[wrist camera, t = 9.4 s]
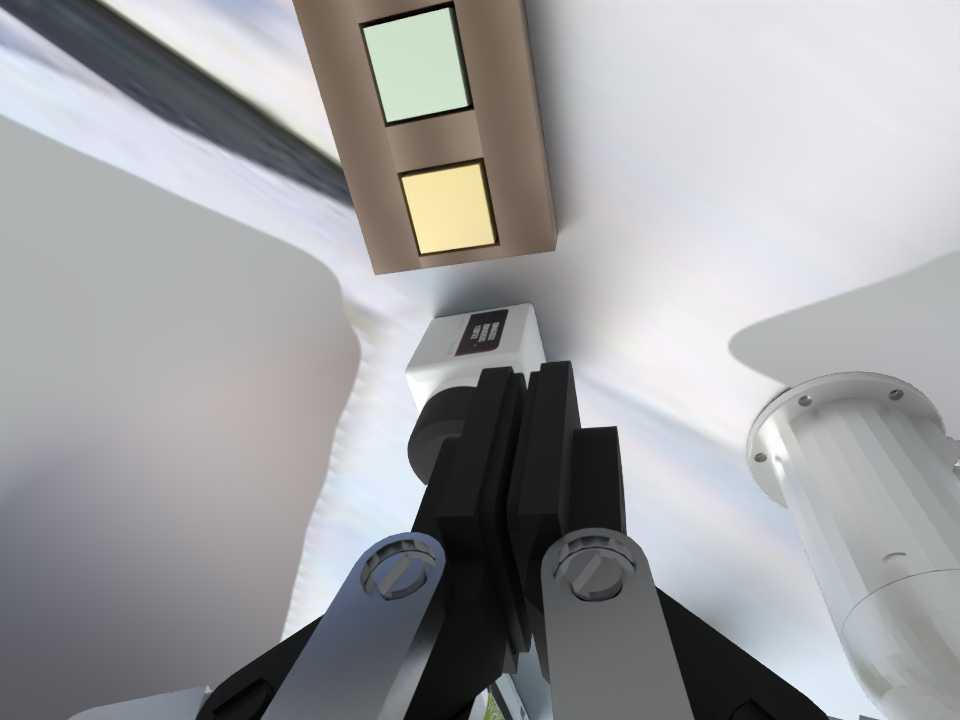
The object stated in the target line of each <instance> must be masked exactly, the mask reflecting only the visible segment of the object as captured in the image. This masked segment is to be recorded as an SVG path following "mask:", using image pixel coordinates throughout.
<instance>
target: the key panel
mask: <svg viewBox="0 0 960 720" xmlns="http://www.w3.org/2000/svg"><path fill="white" fill-rule="evenodd" d="M292 1H293V4H294V7H295V11H296V14H297V17H298V21H299V24H300V27H301V31H302V34H303V37H304V41H305V44H306V47H307V51H308V54H309V57H310V61H311V64H312V67H313V71H314V74H315V77H316V81H317V84H318V87H319V91H320V94H321V97H322V101H323V104H324V107H325V110H326V114H327V117H328V120H329V124H330V127H331V130H332V134H333V137H334V140H335V144H336V147H337V150H338V154H339V157H340V160H341V164H342V167H343V170H344V174H345V177H346V180H347V184H348V187H349V190H350V194H351V197H352V200H353V204H354V207H355V210H356V214H357V217H358V220H359V224H360V227H361V230H362V234H363V237H364V240H365V244H366V247H367V250H368V254H369V257H370V260H371V264H372V267H373V270H374V273H375V275H380V274H388V273H395V272H402V271H410V270H417V269H424V268H432V267H439V266H447V265H454V264H461V263H469V262H476V261H483V260H491V259H498V258H506V257H513V256H520V255H528V254H535V253H542V252H550V251H555V248H556V242H557V236H558V234H557V227H556V220H555V213H554V206H553V199H552V192H551V185H550V178H549V171H548V164H547V157H546V150H545V143H544V136H543V129H542V122H541V115H540V108H539V101H538V94H537V87H536V79H535V72H534V65H533V58H532V51H531V44H530V37H529V30H528V23H527V16H526V9H525V2H524V0H292ZM453 3H454V4H455V10H456V15H457V20H458V25H459V31H460V36H461V41H462V46H463V52H464V57H465V62H466V67H467V73H468V78H469V83H470V88H471V94H472V99H473V104H474V105H471V106H466V107H461V108H456V109H451V110H446V111H441V112H436V113H431V114H426V115H421V116H416V117H411V118H406V119H401V120H395V121H390V122H387V119H386V115H385V111H384V107H383V104H382V100H381V96H380V92H379V88H378V84H377V80H376V76H375V73H374V69H373V65H372V61H371V57H370V53H369V49H368V45H367V41H366V38H365V34H364V30H363V28H367V27H371V26H375V25H376V22H380V21H384V20H388V19H392V18H396V17H400V16H404V15H408V14H412V13H416V12H420V11H424V10H428V9H433V8H437V7H441V6H445V5H449V4H453ZM482 157H484V162H485V167H486V172H487V178H488V183H489V188H490V193H491V199H492V204H493V209H494V214H495V220H496V225H497V230H498V236H497V238H496V240H495V243H492V244H485V245H478V246H471V247H464V248H457V249H450V250H443V251H436V252H429V253H422V254H421V251H420V247H419V243H418V240H417V236H416V232H415V228H414V224H413V220H412V216H411V212H410V208H409V205H408V201H407V197H406V193H405V189H404V185H403V181H402V177H403V176H405V175H406V174H407V173H408V172H409V171H410V170H415V169H421V168H426V167H432V166H438V165H443V164H449V163H454V162H460V161H466V160H471V159H477V158H482Z"/></svg>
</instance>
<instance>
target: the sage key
mask: <svg viewBox="0 0 960 720" xmlns="http://www.w3.org/2000/svg"><path fill="white" fill-rule="evenodd" d="M363 30H364V34H365V38H366V41H367V45H368V49H369V53H370V57H371V61H372V65H373V69H374V73H375V76H376V80H377V84H378V88H379V92H380V96H381V100H382V104H383V107H384V111H385V115H386V119H387V122H390V121H395V120H400V119H405V118H410V117H415V116H420V115H425V114H430V113H435V112H440V111H445V110H450V109H455V108H460V107H465V106H468V105H469V104H471V103H472V102H473V99H472V94H471V88H470V83H469V78H468V73H467V67H466V62H465V57H464V52H463V46H462V41H461V36H460V31H459V25H458V20H457V15H456V10H455V8H445V9H441V10H437V11H433V12H429V13H424V14H420V15H416V16H412V17H408V18H404V19H400V20H396V21H392V22H388V23H384V24H379V25H375V26H371V27H367V28H363Z"/></svg>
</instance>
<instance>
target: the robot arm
mask: <svg viewBox="0 0 960 720" xmlns="http://www.w3.org/2000/svg"><path fill="white" fill-rule="evenodd" d="M945 435H946V430H945V427H944V424H943V420H942V417H941V416H940V414H939V413H938V411H937V409H936V408H935V407H934V405H933V404H932V403H931V402H930V401H929V400H928V398H927V397H926V396H925V395H924V394H923V393H922V392H920V391H919V390H918V389H916V388H915V387H913V386H912V385H911V384H909V383H906V382H904V381H902V380H900V379H897V378H895V377H891V376H887V375H883V374H879V373H870V372H845V373H836V374H831V375H826V376H822V377H818V378H815V379H812V380H810V381H807V382H805V383H802V384H799V385H798V386H796V387H794V388H792V389H790V390H789V391H787V392H785V393H783V394H782V395H781V396H779V397H778V398H777V399H776V400H774V401H773V402H772V403H770V404H769V406H768V407H767V408H766V409H765V410H764V411H763V412H762V413H761V414H760V415H759V417H758V419H757V420H756V422H755V424H754V425H753V427H752V429H751V432H750V435H749V438H748V441H747V453H746V454H747V460H748V465H749V468H750V471H751V474H752V476H753V479H754V481H755V482H756V484H757V485H758V487H759V489H760V490H761V491H762V492H763V493H764V494H765V495H766V496H767V497H768V498H769V499H771V500H772V501H774V502H775V503H777V504H778V505H780V506H782V507H784V508H786V509H788V510H789V511H790V513H791V516H792V519H793V521H794V524H795V526H796V529H797V531H798V534H799V537H800V539H801V542H802V544H803V547H804V549H805V552H806V555H807V557H808V560H809V562H810V565H811V567H812V570H813V573H814V575H815V578H816V580H817V583H818V585H819V588H820V591H821V593H822V596H823V598H824V601H825V603H826V606H827V609H828V611H829V614H830V616H831V619H832V621H833V624H834V627H835V629H836V632H837V634H838V637H839V639H840V642H841V645H842V647H843V650H844V652H845V655H846V657H847V660H848V662H849V665H850V667H851V670H852V672H853V674H854V676H855V678H856V680H857V682H858V684H859V685H860V687H861V688H862V690H863V691H864V693H865V694H866V696H867V697H868V698H869V700H870V701H871V702H872V703H873V704H874V705H875V707H876V708H877V709H878V710H879V711H880V712H881V713H882V714H883V715H884V716H885V717H886V718H887V719H889V720H960V466H956V467H955V466H954V464H956V463H957V461H958V460H960V441H954V440H953V439H952V438H951V437H946V436H945ZM532 633H533V637H534V641H535V646H536V650H537V654H538V658H539V662H540V666H541V670H542V674H543V677H544V678H545V680H546V681H547V682H548V683H549V684H550V685H551V695H552V706H553V718H554V720H842V719H838V718H834V717H830V716H827V715H826V714H825V713H824V712H823V711H822V710H821V709H820V708H819V707H818V706H817V705H815V704H814V703H813V702H812V701H811V700H810V699H809V698H808V697H807V696H805V695H804V694H803V693H801V692H800V691H798V690H797V689H796V688H794V687H793V686H792V685H790V684H789V683H787V682H786V681H785V680H783V679H782V678H781V677H779V676H778V675H777V674H775V673H774V672H772V671H771V670H770V669H768V668H767V667H766V666H764V665H763V664H761V663H760V662H759V661H757V660H756V659H755V658H753V657H752V656H750V655H749V654H748V653H746V652H745V651H744V650H742V649H741V648H740V647H738V646H737V645H735V644H734V643H733V642H731V641H730V640H729V639H727V638H726V637H724V636H723V635H722V634H720V633H719V632H718V631H716V630H715V629H713V628H712V627H711V626H709V625H708V624H707V623H705V622H704V621H703V620H701V619H700V618H698V617H697V616H696V615H694V614H693V613H692V612H690V611H689V610H687V609H686V608H685V607H683V606H682V605H681V604H679V603H678V602H676V601H675V600H674V599H672V598H671V597H670V596H668V595H667V594H666V593H664V592H663V591H661V590H660V589H659V588H657V587H656V586H655V584H654V581H653V577H652V574H651V570H650V567H649V564H648V560H647V558H646V556H645V554H644V552H643V550H642V548H641V547H640V546H639V545H638V544H637V543H636V542H635V541H633V540H632V539H631V538H630V537H628V536H627V531H626V514H625V499H624V486H623V475H622V465H621V456H620V447H619V438H618V430H617V426H612V427H596V428H581V423H580V417H579V410H578V403H577V396H576V390H575V383H574V376H573V370H572V364H571V361H560V362H549V363H541V366H540V371H533V372H531V373H530V377H529V383H528V388H527V386H526V381H525V376H524V374H523V372H522V373H514V370H513V368H512V366H506V367H495V368H484V369H482V371H481V374H480V377H479V381H478V384H477V387H476V390H475V393H474V396H473V400H472V403H471V406H470V409H469V412H468V415H467V418H466V422H465V425H464V428H463V431H462V434H461V436H456V437H447V438H445V439H444V441H443V443H442V446H441V448H440V451H439V454H438V457H437V460H436V463H435V465H434V468H433V471H432V474H431V477H430V479H429V482H428V485H427V488H426V491H425V494H424V496H423V499H422V502H421V505H420V508H419V510H418V513H417V516H416V519H415V522H414V524H413V527H412V530H411V532H405V533H400V534H396V535H392V536H389V537H387V538H385V539H383V540H381V541H379V542H377V543H375V544H374V545H373V546H372V547H370V548H369V549H368V550H367V551H365V552H364V553H363V555H362V556H361V557H360V558H359V560H358V561H357V562H356V564H355V565H354V567H353V568H352V570H351V572H350V573H349V575H348V577H347V578H346V580H345V582H344V583H343V585H342V587H341V588H340V590H339V591H338V593H337V595H336V596H335V598H334V600H333V601H332V603H331V605H330V606H329V608H328V610H327V611H326V613H325V614H324V615H322V616H321V617H319V618H318V619H316V620H315V621H313V622H312V623H310V624H308V625H307V626H305V627H304V628H302V629H301V630H299V631H298V632H296V633H295V634H293V635H292V636H290V637H289V638H287V639H286V640H284V641H283V642H281V643H280V644H278V645H277V646H275V647H274V648H272V649H271V650H269V651H267V652H266V653H264V654H263V655H261V656H260V657H258V658H257V659H255V660H254V661H252V662H251V663H249V664H248V665H246V666H245V667H243V668H242V669H240V670H239V671H237V672H236V673H234V674H233V675H231V676H230V677H229V678H228V679H227V680H225V681H224V682H223V683H222V684H221V685H219V686H218V687H217V688H216V689H215V691H214V692H212V691H211V690H210V688H209V687H208V686H207V685H206V686H200V687H195V688H190V689H186V690H180V691H176V692H170V693H165V694H160V695H155V696H150V697H146V698H141V699H136V700H131V701H126V702H121V703H116V704H111V705H106V706H101V707H96V708H92V709H89V710H86V711H84V712H81V713H78V714H76V715H74V716H73V717H71V718H70V719H68V720H483V718H484V715H485V711H486V707H487V701H488V691H487V687H489V686H490V685H491V684H492V683H493V682H495V681H496V680H497V679H498V678H500V677H501V676H502V673H510V674H517V666H518V657H519V652H529V651H530V646H531V638H532ZM859 720H878V719H874V718H870V717H866V716H862V715H859Z"/></svg>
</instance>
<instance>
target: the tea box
mask: <svg viewBox="0 0 960 720" xmlns="http://www.w3.org/2000/svg"><path fill="white" fill-rule="evenodd" d="M487 691H488V701H487V707H486V711H485V715H484V718H483V720H529V718H528V716H527V714H526V711H525V709H524V707H523V704H522V702H521V700H520V697H519V696H518V693H517V691H516V689H515V686H514V683H513V681H512V679H511V677H510V675H509V673H502V676H501V677H500V678H498V679H497V680H496V681H495V682H493V683H492V684H491V685H490V686H489V687H487Z"/></svg>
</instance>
